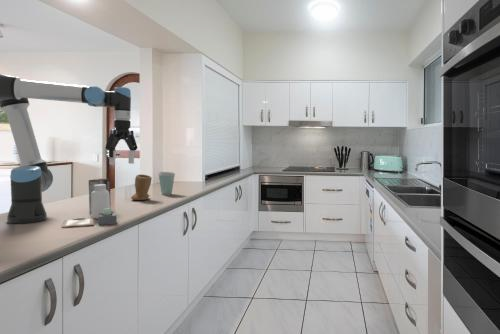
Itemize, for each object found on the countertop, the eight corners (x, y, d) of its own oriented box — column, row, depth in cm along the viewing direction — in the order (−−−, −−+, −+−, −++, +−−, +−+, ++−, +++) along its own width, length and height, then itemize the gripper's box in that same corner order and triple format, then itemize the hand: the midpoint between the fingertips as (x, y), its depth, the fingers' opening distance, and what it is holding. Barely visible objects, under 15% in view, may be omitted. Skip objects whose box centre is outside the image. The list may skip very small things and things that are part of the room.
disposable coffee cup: (170, 192, 272) (169, 170, 272) (178, 194, 264) (177, 171, 263) (155, 194, 266) (155, 171, 265) (163, 195, 257) (163, 172, 256)
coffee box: (99, 209, 204) (99, 178, 203) (111, 210, 202) (110, 178, 201) (88, 213, 195) (88, 180, 194) (100, 213, 193) (100, 180, 192)
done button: (103, 217, 169) (103, 209, 169) (103, 216, 172) (103, 208, 172) (111, 217, 171) (111, 209, 170) (111, 216, 174) (111, 208, 173)
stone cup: (150, 201, 234) (149, 175, 233) (129, 201, 233) (128, 175, 232) (154, 197, 249) (153, 173, 248) (134, 197, 248) (134, 173, 247)
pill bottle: (90, 219, 179) (89, 185, 178) (92, 216, 187) (91, 184, 186) (109, 218, 181) (108, 185, 180) (110, 215, 189) (109, 183, 188)
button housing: (98, 224, 167) (98, 216, 167) (98, 221, 174) (98, 213, 173) (116, 223, 170) (116, 215, 169) (115, 220, 176) (115, 212, 176)
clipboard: (61, 228, 161) (61, 225, 161) (63, 221, 174) (63, 218, 174) (93, 225, 165) (93, 223, 165) (93, 219, 178) (93, 217, 178)
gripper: (110, 118, 180) (110, 165, 182) (144, 121, 204) (144, 163, 205) (97, 118, 183) (97, 164, 184) (132, 121, 206) (132, 162, 208)
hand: (122, 164), depth 195 cm, fingers open, 13 cm apart
